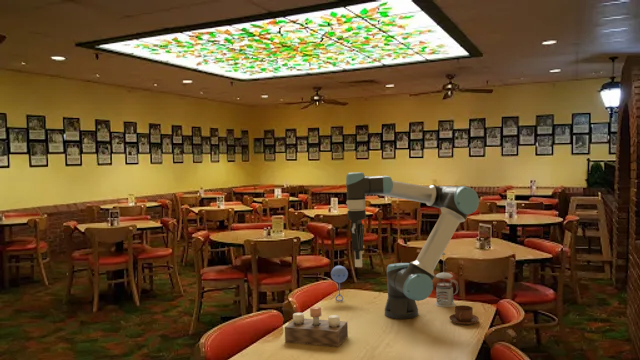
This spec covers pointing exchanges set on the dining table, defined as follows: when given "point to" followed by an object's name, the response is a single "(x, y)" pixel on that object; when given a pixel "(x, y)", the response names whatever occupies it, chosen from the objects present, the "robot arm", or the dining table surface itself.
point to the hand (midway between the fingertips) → (358, 266)
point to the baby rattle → (339, 277)
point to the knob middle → (315, 314)
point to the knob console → (316, 333)
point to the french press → (445, 290)
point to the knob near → (333, 320)
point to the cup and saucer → (464, 315)
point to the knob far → (298, 318)
